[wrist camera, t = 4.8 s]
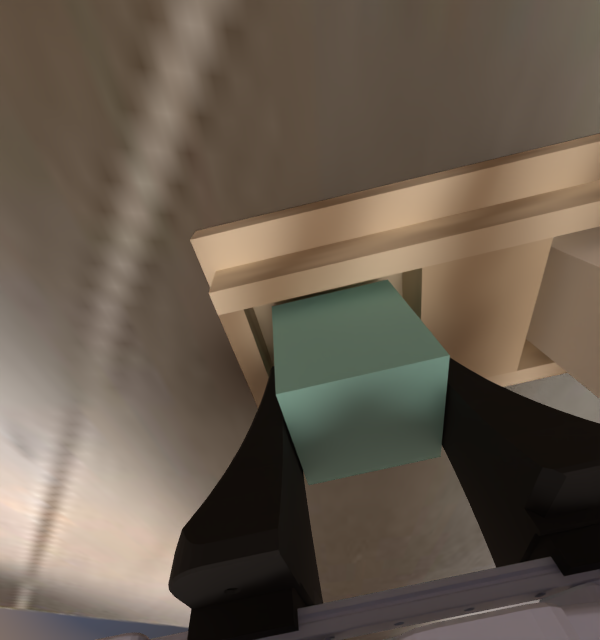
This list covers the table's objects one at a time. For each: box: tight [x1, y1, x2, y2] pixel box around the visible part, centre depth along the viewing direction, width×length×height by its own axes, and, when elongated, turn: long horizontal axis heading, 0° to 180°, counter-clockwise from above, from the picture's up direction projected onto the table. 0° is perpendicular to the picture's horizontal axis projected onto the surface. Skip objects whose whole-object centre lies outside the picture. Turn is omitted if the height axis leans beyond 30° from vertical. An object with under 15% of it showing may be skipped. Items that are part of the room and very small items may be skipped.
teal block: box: [272, 280, 450, 485], centre depth 12 cm, size 5×5×5 cm
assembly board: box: [190, 134, 600, 408], centre depth 15 cm, size 22×12×3 cm, turn 102°
